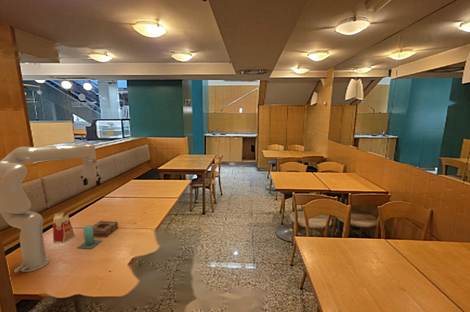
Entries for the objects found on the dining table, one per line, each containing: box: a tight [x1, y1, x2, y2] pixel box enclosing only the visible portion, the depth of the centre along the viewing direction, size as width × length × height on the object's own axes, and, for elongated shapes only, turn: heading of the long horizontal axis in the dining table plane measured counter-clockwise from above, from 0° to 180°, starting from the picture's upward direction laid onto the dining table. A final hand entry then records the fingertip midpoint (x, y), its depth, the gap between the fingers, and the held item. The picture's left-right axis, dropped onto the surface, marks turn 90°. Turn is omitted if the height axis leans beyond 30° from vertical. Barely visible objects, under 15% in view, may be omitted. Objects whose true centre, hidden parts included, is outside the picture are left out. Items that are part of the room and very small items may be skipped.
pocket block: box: [92, 220, 119, 238], centre depth 164 cm, size 14×14×5 cm
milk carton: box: [52, 212, 76, 244], centre depth 152 cm, size 9×9×20 cm
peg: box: [83, 225, 95, 246], centre depth 146 cm, size 5×5×12 cm
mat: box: [76, 239, 103, 250], centre depth 147 cm, size 10×10×1 cm
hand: (92, 185), depth 157 cm, fingers open, 9 cm apart
